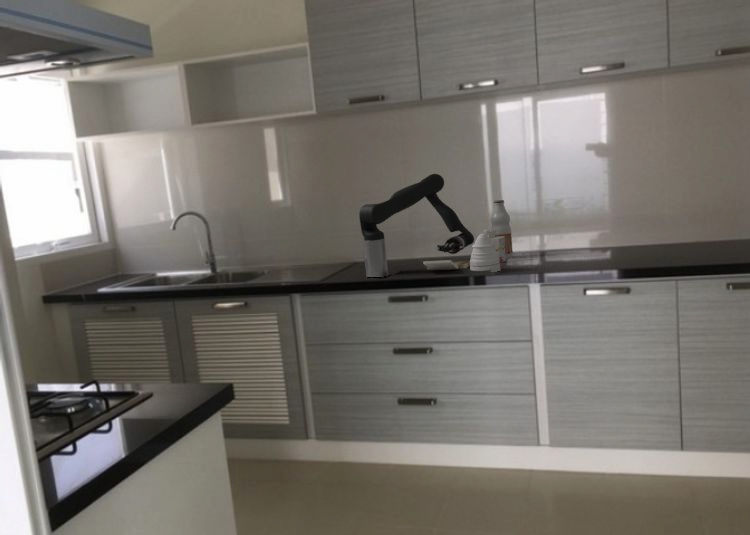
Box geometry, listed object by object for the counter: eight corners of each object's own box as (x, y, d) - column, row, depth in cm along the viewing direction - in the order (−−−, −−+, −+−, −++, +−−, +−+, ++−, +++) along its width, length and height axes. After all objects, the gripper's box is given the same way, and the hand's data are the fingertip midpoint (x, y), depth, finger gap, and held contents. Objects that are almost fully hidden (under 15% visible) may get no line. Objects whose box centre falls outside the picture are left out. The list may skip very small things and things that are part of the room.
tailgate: (433, 271, 293) (423, 264, 279) (433, 268, 293) (423, 260, 280) (459, 270, 288) (450, 262, 275) (459, 267, 288) (450, 259, 275)
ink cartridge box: (500, 263, 300) (498, 231, 298) (490, 263, 303) (487, 232, 301) (506, 260, 307) (504, 229, 305) (496, 260, 310) (494, 230, 308)
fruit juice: (499, 260, 310) (495, 201, 306) (489, 258, 319) (485, 201, 315) (516, 257, 313) (512, 199, 309) (506, 256, 322) (502, 199, 318)
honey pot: (500, 268, 287) (497, 227, 284) (499, 273, 274) (496, 230, 272) (471, 270, 290) (468, 230, 287) (469, 275, 277) (465, 233, 275)
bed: (427, 272, 294) (426, 266, 294) (434, 268, 305) (433, 262, 304) (466, 271, 288) (465, 264, 287) (471, 267, 298) (471, 260, 297)
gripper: (440, 237, 308) (430, 242, 292) (468, 236, 303) (458, 240, 288) (441, 253, 309) (431, 258, 293) (469, 252, 304) (460, 257, 289)
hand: (445, 249), depth 291 cm, fingers closed
